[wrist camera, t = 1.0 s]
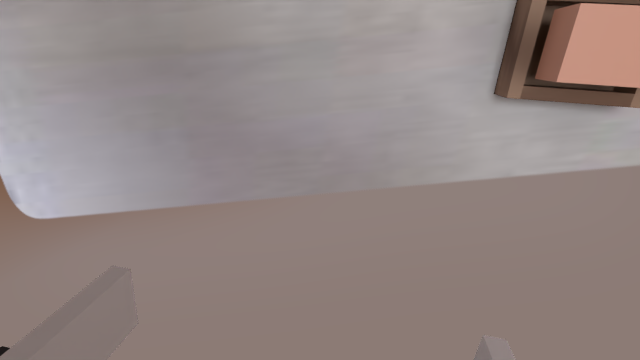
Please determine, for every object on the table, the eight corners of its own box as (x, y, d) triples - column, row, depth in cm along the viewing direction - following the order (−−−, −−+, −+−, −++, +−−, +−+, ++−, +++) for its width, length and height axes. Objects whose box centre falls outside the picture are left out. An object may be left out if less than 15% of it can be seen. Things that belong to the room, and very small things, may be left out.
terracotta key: (554, 9, 24) (581, 3, 21) (659, 14, 23) (702, 8, 20) (534, 78, 26) (556, 82, 22) (631, 85, 25) (667, 89, 22)
